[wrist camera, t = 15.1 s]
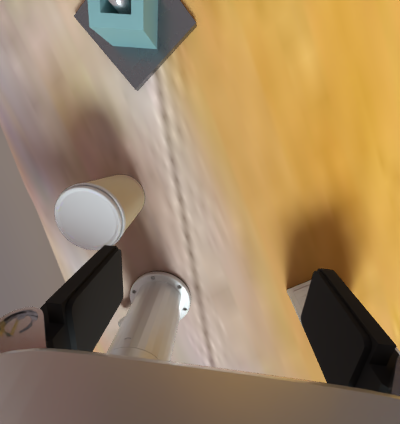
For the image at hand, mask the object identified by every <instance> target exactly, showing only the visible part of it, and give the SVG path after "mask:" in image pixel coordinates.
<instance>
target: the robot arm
mask: <svg viewBox="0 0 400 424" xmlns="http://www.w3.org/2000/svg"><path fill="white" fill-rule="evenodd" d="M122 299H123V278H122V258H121V250H119V249H118V248H117V246H110V245H104V246H103V247H102V248H101V249H100V250H99V251H98V252H97V253H96V254H95V255H94V256H93V257H92V258H91V259H89V260H88V261H87V262H86V263H85V264H84V265H83V266H82V267H81V268H80V269H79V270H78V271H77V272H76V273H75V274H74V275H73V276H72V277H71V278H70V279H69V280H68V281H67V282H66V283H65V284H64V285H63V286H62V287H61V288H60V289H59V290H58V291H56V292H55V293H54V294H53V295H52V296H51V297H50V298H49V299H48V300H47V301H46V303H45V304H44V305H43V306H42V307H41V308H40V309H39V308H35V307H25V308H20V309H17V310H14V311H12V312H10V313H8V314H6V315H4V316H3V317H1V318H0V424H400V355H399V353H398V352H397V351H396V350H395V348H396V345H395V343H394V342H393V341H392V340H391V339H390V337H389V336H388V335H387V334H386V333H385V331H384V330H383V329H382V328H381V327H380V325H379V324H378V323H377V322H376V321H375V319H374V318H373V317H372V316H371V315H370V313H369V312H368V311H367V310H366V309H365V307H364V306H363V305H362V304H361V303H360V301H359V300H358V299H357V298H356V297H355V295H354V294H353V293H352V292H351V291H350V289H349V288H348V287H347V286H346V285H345V283H344V282H343V281H342V280H341V279H340V277H339V276H338V275H337V274H336V273H335V271H333V270H330V269H318V270H317V271H314V273H313V276H312V279H311V283H310V286H309V289H308V293H307V296H306V300H305V303H304V307H303V310H302V313H301V323H302V326H303V328H304V330H305V333H306V335H307V337H308V340H309V342H310V344H311V347H312V349H313V351H314V354H315V356H316V358H317V361H318V363H319V365H320V368H321V370H322V372H323V374H324V377H325V379H326V381H327V383H322V382H315V381H308V380H301V379H294V378H287V377H280V376H273V375H266V374H259V373H251V372H244V371H237V370H229V369H222V368H215V367H207V366H200V365H192V364H185V363H177V362H170V360H171V356H172V351H173V346H174V342H175V337H176V332H177V328H178V323H179V320H181V319H182V318H183V317H184V316H185V315H186V314H187V312H188V310H189V307H190V302H191V297H190V293H189V290H188V288H187V287H186V285H185V284H184V283H183V282H182V281H181V280H180V279H179V278H177V277H175V276H174V275H171V274H169V273H165V272H149V273H146V274H144V275H142V276H140V277H139V278H138V279H137V280H136V281H135V283H134V284H133V286H132V288H131V291H130V301H131V306H130V308H129V310H128V312H127V314H126V316H125V317H123V318H122V319H120V320H119V322H118V325H119V327H120V328H119V330H118V332H117V334H116V336H115V337H114V339H113V341H112V343H111V345H110V347H109V349H108V351H107V353H98V352H92V351H93V350H94V348H95V346H96V344H97V343H98V341H99V339H100V338H101V336H102V334H103V332H104V331H105V329H106V327H107V326H108V324H109V322H110V320H111V319H112V317H113V315H114V314H115V312H116V310H117V308H118V307H119V305H120V303H121V301H122Z"/></svg>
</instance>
